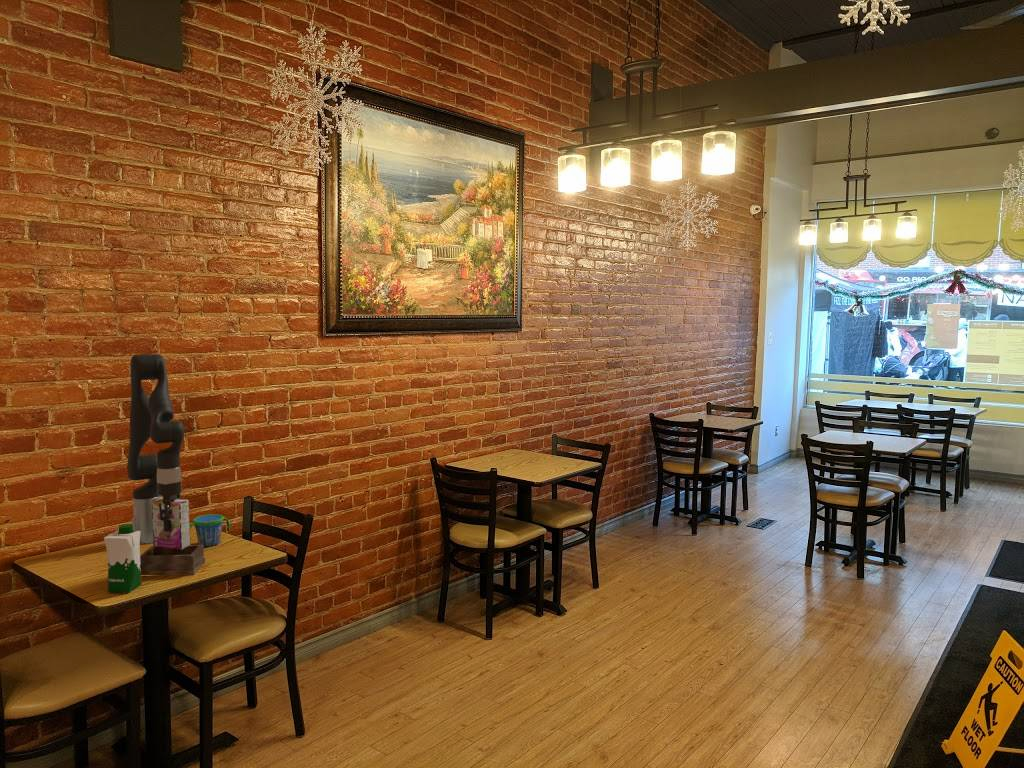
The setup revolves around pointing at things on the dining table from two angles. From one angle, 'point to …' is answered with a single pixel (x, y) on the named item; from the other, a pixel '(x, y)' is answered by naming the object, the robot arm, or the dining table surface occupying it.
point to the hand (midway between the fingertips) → (171, 528)
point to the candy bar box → (172, 525)
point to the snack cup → (209, 528)
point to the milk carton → (123, 559)
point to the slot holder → (172, 560)
